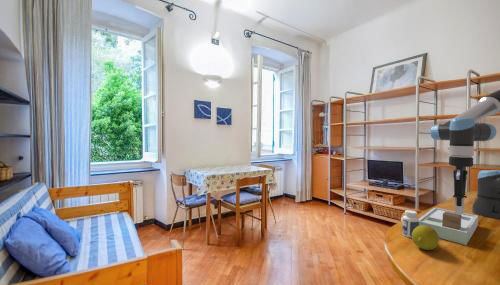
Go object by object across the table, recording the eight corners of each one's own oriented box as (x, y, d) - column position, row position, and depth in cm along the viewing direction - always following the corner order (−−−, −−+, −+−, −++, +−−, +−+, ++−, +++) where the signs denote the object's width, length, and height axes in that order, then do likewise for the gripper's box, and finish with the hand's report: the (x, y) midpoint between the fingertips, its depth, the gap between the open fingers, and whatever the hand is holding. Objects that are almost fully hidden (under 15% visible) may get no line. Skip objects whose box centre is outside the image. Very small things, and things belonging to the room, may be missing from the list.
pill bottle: (419, 235, 98) (420, 211, 97) (416, 239, 94) (417, 214, 93) (403, 231, 101) (404, 208, 101) (400, 235, 97) (401, 211, 97)
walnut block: (445, 223, 101) (445, 211, 101) (460, 226, 97) (461, 214, 97) (442, 226, 97) (442, 213, 97) (458, 230, 94) (459, 217, 94)
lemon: (431, 256, 81) (432, 233, 80) (405, 247, 87) (406, 225, 87) (444, 248, 87) (445, 226, 86) (419, 240, 93) (420, 219, 93)
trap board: (433, 216, 121) (434, 207, 121) (477, 225, 109) (478, 215, 109) (415, 231, 102) (416, 220, 102) (466, 245, 90) (466, 232, 90)
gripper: (452, 154, 106) (450, 207, 107) (445, 156, 98) (444, 214, 99) (475, 155, 100) (473, 211, 102) (470, 158, 92) (469, 219, 93)
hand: (459, 213), depth 100 cm, fingers closed
